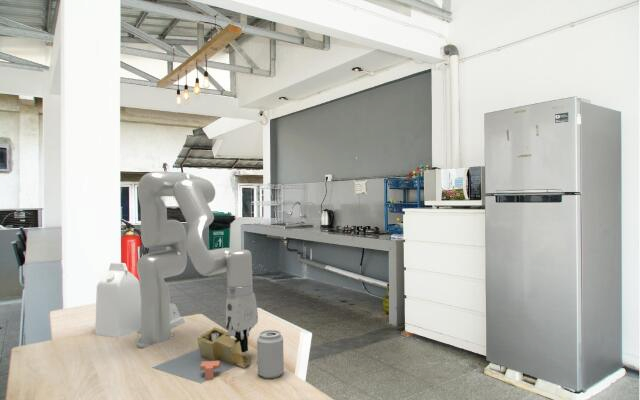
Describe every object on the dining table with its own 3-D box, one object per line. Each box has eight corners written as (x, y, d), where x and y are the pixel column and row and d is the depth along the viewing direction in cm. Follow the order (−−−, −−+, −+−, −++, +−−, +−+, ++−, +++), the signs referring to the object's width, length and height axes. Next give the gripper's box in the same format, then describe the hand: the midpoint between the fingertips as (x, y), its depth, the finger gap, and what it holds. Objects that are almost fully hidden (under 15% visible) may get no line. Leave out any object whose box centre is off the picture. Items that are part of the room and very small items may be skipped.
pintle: (210, 361, 136) (209, 333, 136) (215, 358, 138) (215, 331, 138) (215, 362, 135) (215, 335, 134) (221, 360, 137) (220, 333, 136)
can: (287, 370, 128) (287, 329, 128) (277, 381, 121) (276, 338, 121) (264, 367, 131) (264, 327, 130) (252, 377, 124) (252, 335, 123)
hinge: (157, 335, 161) (149, 309, 162) (147, 338, 163) (139, 312, 164) (185, 322, 177) (177, 298, 178) (176, 325, 179) (168, 301, 179)
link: (200, 355, 136) (196, 338, 134) (218, 343, 141) (214, 327, 139) (238, 372, 125) (235, 354, 123) (256, 359, 130) (253, 341, 129)
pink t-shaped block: (202, 377, 124) (201, 361, 124) (220, 376, 125) (220, 360, 124) (199, 385, 119) (199, 368, 119) (218, 384, 120) (218, 367, 119)
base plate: (152, 372, 128) (152, 367, 128) (201, 351, 144) (201, 347, 144) (200, 388, 117) (200, 383, 117) (248, 364, 133) (248, 359, 133)
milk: (143, 328, 170) (141, 261, 169) (120, 337, 159) (118, 266, 158) (119, 325, 174) (117, 260, 173) (95, 334, 163) (93, 264, 163)
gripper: (232, 297, 125) (234, 361, 125) (265, 287, 138) (267, 345, 138) (213, 294, 129) (215, 357, 129) (247, 285, 141) (249, 341, 142)
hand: (242, 350), depth 133 cm, fingers closed
